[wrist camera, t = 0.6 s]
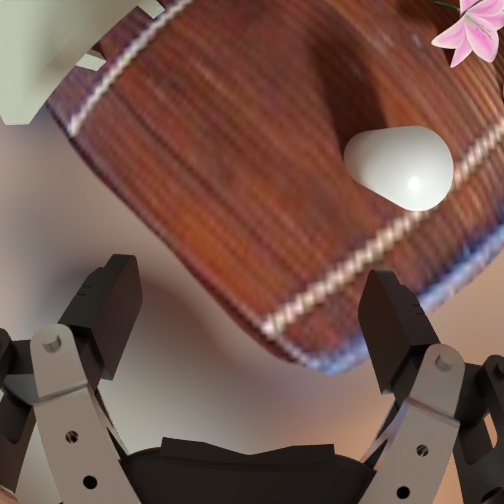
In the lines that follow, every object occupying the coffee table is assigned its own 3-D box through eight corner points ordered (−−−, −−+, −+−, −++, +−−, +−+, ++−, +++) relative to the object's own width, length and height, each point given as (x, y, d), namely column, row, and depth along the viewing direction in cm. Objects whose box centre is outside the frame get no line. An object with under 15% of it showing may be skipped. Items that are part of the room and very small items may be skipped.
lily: (389, 50, 24) (459, 75, 17) (395, -50, 16) (469, -52, 9) (463, 70, 26) (524, 100, 19) (472, -13, 18) (537, 3, 11)
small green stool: (158, -1, 23) (67, -82, 7) (214, 59, 25) (138, -24, 9) (88, 63, 25) (-33, 34, 9) (134, 125, 28) (5, 124, 12)
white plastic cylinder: (376, 120, 25) (427, 111, 15) (405, 167, 27) (465, 183, 16) (332, 150, 27) (362, 153, 16) (363, 196, 28) (405, 227, 18)
